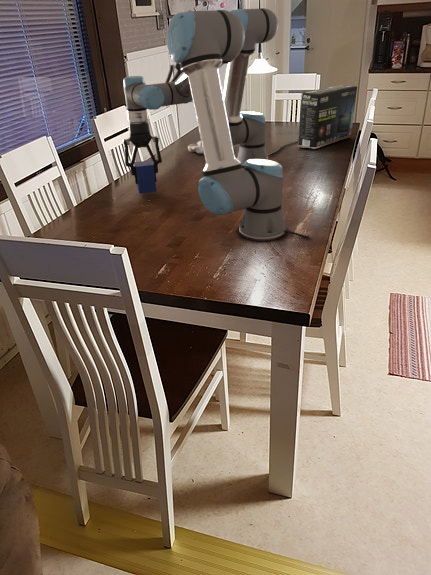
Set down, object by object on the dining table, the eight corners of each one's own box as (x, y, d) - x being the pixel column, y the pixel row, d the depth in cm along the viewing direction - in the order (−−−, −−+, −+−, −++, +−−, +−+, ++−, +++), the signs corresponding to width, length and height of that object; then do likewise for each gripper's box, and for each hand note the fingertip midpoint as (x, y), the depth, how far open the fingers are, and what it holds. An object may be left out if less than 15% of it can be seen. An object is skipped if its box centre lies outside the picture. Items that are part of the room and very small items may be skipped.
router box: (314, 151, 231) (318, 94, 217) (296, 148, 237) (299, 92, 224) (352, 138, 251) (358, 85, 238) (335, 135, 258) (340, 83, 245)
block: (137, 188, 186) (133, 162, 181) (153, 186, 188) (151, 160, 182) (139, 193, 181) (135, 166, 175) (156, 191, 182) (153, 164, 177)
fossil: (211, 149, 226) (191, 129, 229) (201, 167, 233) (181, 148, 236) (230, 147, 240) (211, 129, 243) (220, 164, 247) (201, 146, 250)
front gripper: (112, 126, 166) (121, 187, 177) (166, 121, 170) (171, 181, 181) (111, 122, 172) (120, 182, 184) (163, 117, 176) (168, 176, 188)
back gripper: (158, 54, 208) (162, 104, 219) (211, 51, 213) (213, 100, 224) (155, 53, 214) (160, 102, 225) (207, 50, 219) (209, 98, 230)
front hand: (145, 181), depth 182 cm, fingers closed on block, 7 cm apart
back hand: (186, 101), depth 225 cm, fingers open, 13 cm apart
